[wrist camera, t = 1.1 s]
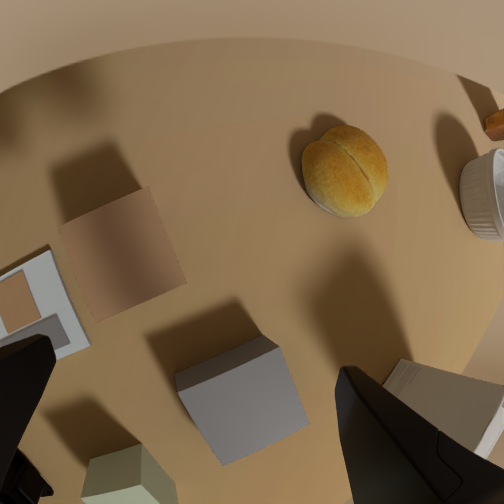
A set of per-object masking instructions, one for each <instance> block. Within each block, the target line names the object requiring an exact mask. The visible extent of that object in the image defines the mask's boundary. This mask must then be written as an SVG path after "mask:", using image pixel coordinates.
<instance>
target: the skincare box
mask: <svg viewBox="0 0 504 504" xmlns="http://www.w3.org/2000/svg"><path fill="white" fill-rule="evenodd" d="M383 387H384V388H385V389H387V390H388V391H389V392H390V393H392V394H393V395H394V396H396V397H397V398H398V399H400V400H401V401H402V402H404V403H405V404H406V405H407V406H409V407H410V408H411V409H413V410H414V411H415V412H417V413H418V414H419V415H421V416H422V417H423V418H425V419H426V420H427V421H429V422H430V423H431V424H433V425H434V426H435V427H437V428H438V431H439V430H441V431H442V432H444V433H445V434H446V435H448V436H449V437H451V438H452V439H453V440H455V441H456V442H458V443H459V444H461V445H462V446H464V447H465V448H467V449H469V450H470V451H472V452H474V453H475V454H477V455H479V456H481V457H482V458H484V459H486V458H487V457H488V455H489V454H490V452H491V450H492V448H493V447H494V445H495V443H496V442H497V440H498V438H499V436H500V434H501V433H502V431H503V429H504V385H499V384H495V383H491V382H486V381H482V380H478V379H474V378H470V377H466V376H463V375H459V374H455V373H452V372H448V371H444V370H440V369H437V368H433V367H430V366H426V365H422V364H419V363H416V362H412V361H409V360H406V359H402V358H401V359H400V361H399V362H398V364H397V365H396V367H395V368H394V370H393V372H392V373H391V374H390V376H389V377H388V379H387V380H386V382H385V383H384V384H383Z"/></svg>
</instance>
